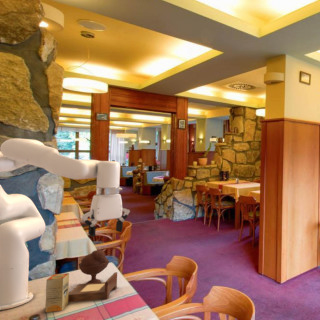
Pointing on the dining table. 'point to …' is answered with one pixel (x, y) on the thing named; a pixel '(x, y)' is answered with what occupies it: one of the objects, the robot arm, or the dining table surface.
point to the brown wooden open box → (93, 290)
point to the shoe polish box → (57, 292)
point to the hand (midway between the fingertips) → (106, 233)
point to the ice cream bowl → (94, 264)
